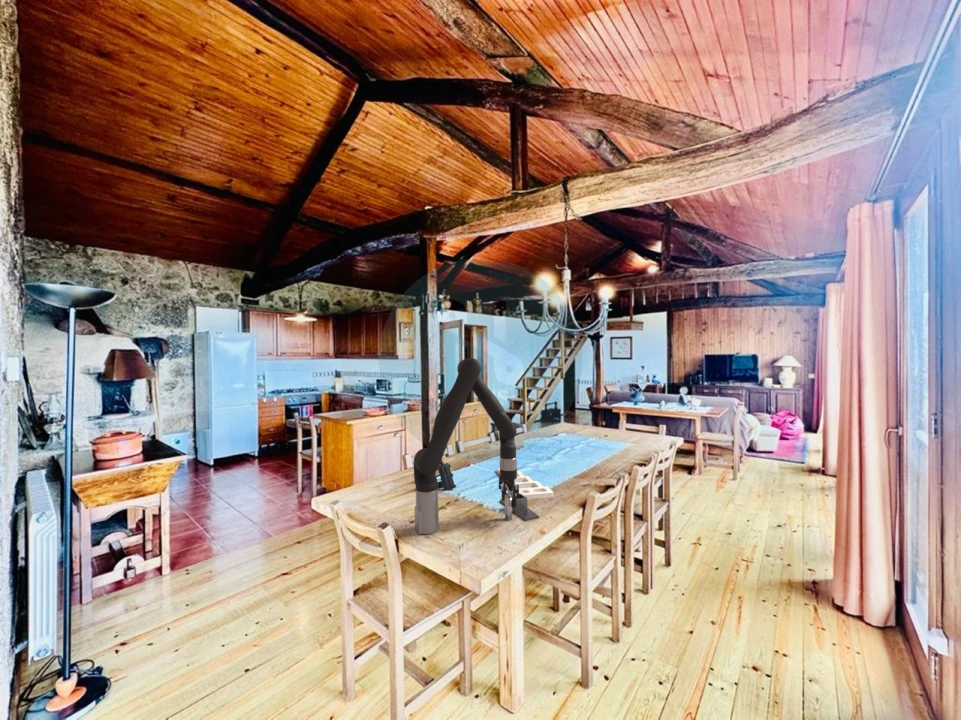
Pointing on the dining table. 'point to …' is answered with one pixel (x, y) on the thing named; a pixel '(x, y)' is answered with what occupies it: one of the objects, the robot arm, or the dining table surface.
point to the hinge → (523, 509)
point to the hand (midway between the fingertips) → (508, 503)
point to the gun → (445, 477)
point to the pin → (508, 507)
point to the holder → (537, 489)
